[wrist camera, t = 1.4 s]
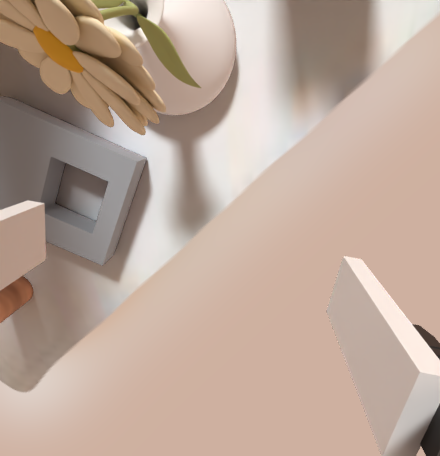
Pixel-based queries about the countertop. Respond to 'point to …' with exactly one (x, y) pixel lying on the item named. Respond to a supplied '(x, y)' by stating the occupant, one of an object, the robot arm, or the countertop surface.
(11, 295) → the dowel
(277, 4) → the countertop surface
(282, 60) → the countertop surface
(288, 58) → the countertop surface
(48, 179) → the holed block
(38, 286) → the countertop surface
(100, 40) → the flower in vase
